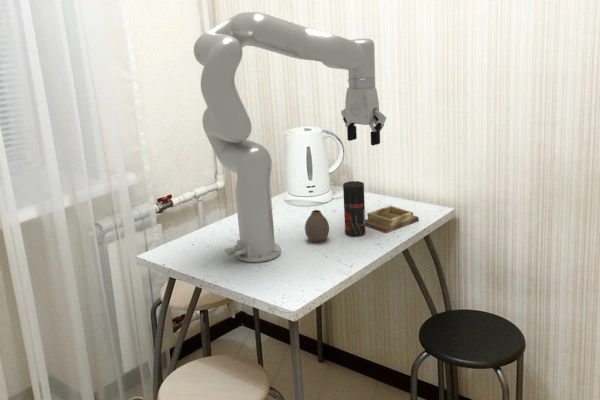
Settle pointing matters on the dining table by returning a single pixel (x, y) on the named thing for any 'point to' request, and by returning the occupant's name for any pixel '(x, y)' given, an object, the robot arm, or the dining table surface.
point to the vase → (317, 227)
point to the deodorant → (354, 208)
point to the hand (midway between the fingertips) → (363, 142)
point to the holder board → (389, 219)
